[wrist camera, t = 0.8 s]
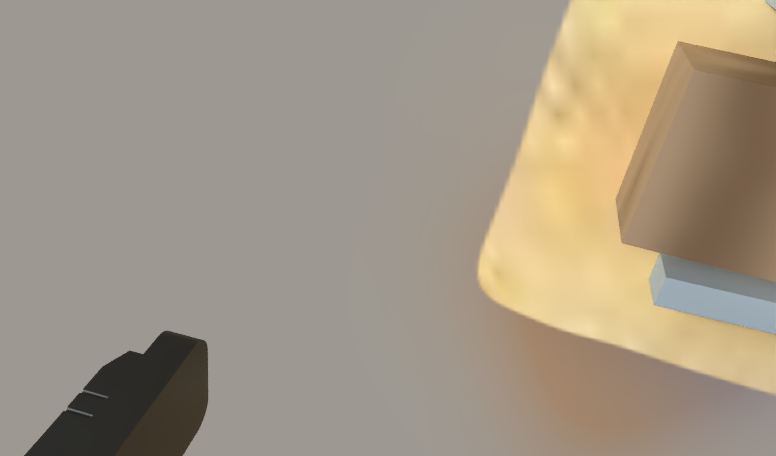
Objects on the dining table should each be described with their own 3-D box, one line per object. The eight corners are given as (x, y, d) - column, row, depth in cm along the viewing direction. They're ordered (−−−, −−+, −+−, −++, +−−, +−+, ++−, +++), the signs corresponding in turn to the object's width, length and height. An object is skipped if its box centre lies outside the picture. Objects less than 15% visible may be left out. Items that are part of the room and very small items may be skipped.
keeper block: (839, 74, 24) (883, 111, 21) (755, 231, 28) (780, 283, 25) (677, 39, 25) (694, 69, 22) (615, 196, 29) (621, 243, 25)
